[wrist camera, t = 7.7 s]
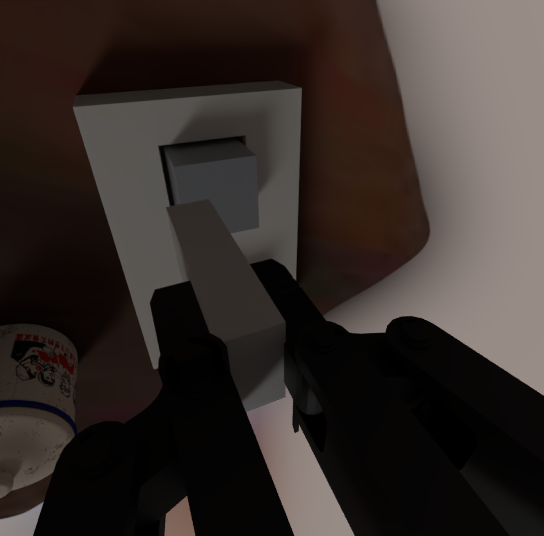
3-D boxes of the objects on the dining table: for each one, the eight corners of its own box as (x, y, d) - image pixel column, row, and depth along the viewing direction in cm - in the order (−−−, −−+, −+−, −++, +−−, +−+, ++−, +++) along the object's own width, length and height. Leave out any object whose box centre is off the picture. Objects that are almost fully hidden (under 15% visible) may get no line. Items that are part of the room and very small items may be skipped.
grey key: (162, 146, 24) (173, 166, 20) (235, 137, 25) (256, 155, 22) (175, 214, 27) (187, 242, 23) (239, 203, 28) (259, 227, 25)
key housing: (75, 95, 23) (72, 107, 20) (278, 80, 27) (301, 88, 24) (148, 339, 35) (153, 369, 32) (279, 303, 40) (294, 326, 37)
